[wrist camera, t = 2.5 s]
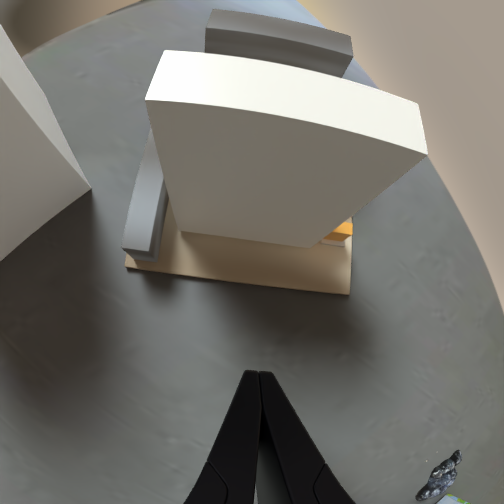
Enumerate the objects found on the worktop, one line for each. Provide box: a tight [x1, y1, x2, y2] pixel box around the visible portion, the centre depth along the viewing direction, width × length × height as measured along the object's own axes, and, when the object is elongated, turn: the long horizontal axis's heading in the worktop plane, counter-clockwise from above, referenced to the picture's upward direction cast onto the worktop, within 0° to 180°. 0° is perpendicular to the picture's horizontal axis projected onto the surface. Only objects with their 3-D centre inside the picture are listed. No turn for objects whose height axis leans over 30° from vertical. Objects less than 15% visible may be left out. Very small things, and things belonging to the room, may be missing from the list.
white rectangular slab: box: [145, 50, 428, 248], centre depth 14 cm, size 2×10×12 cm, turn 84°
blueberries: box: [416, 450, 462, 501], centre depth 18 cm, size 7×8×2 cm
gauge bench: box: [121, 9, 353, 295], centre depth 17 cm, size 14×14×8 cm
